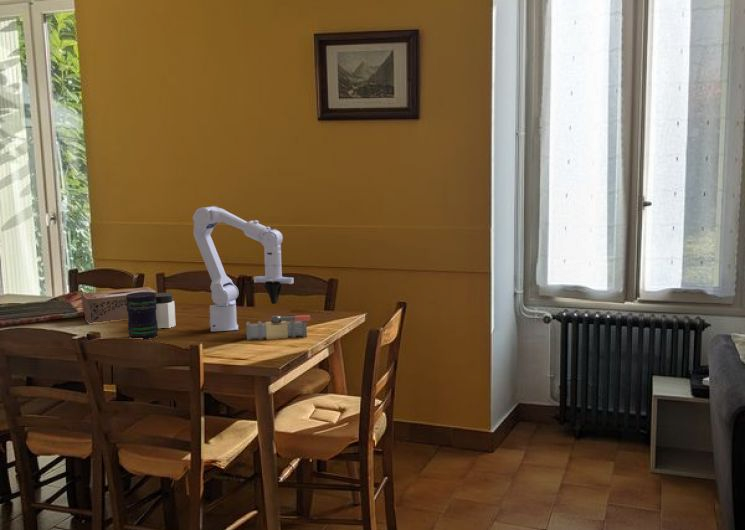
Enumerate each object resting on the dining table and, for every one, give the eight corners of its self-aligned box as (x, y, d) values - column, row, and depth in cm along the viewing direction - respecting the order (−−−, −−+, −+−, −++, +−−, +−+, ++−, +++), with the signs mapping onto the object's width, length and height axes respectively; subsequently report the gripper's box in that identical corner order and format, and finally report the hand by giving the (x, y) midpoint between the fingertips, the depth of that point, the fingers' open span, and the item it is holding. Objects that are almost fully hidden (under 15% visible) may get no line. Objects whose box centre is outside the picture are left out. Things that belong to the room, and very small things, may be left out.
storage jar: (148, 341, 248) (145, 297, 245) (122, 339, 250) (119, 296, 248) (164, 334, 257) (161, 292, 255) (139, 333, 260) (136, 291, 258)
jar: (175, 323, 274) (174, 292, 272) (175, 328, 266) (173, 295, 265) (150, 325, 272) (148, 293, 270) (149, 330, 264) (147, 297, 262)
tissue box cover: (89, 325, 275) (87, 299, 274) (83, 318, 287) (81, 293, 286) (159, 317, 288) (157, 292, 286) (150, 311, 300) (148, 287, 299)
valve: (247, 340, 246) (246, 325, 245) (246, 336, 252) (246, 321, 251) (306, 337, 249) (306, 322, 249) (305, 333, 255) (305, 318, 254)
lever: (270, 323, 248) (270, 317, 248) (271, 320, 251) (271, 315, 251) (310, 321, 249) (310, 316, 249) (310, 319, 252) (310, 314, 252)
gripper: (249, 265, 255) (250, 304, 257) (286, 267, 250) (288, 306, 252) (258, 263, 261) (260, 300, 263) (295, 264, 256) (297, 302, 258)
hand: (274, 303), depth 258 cm, fingers closed
